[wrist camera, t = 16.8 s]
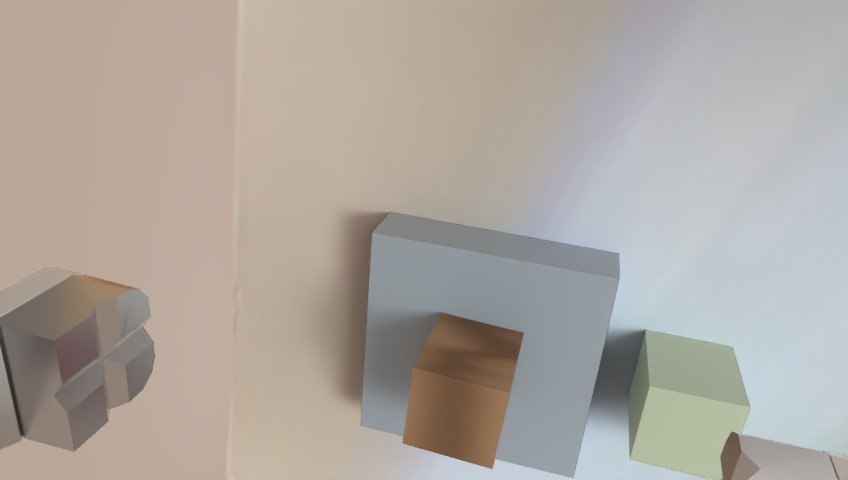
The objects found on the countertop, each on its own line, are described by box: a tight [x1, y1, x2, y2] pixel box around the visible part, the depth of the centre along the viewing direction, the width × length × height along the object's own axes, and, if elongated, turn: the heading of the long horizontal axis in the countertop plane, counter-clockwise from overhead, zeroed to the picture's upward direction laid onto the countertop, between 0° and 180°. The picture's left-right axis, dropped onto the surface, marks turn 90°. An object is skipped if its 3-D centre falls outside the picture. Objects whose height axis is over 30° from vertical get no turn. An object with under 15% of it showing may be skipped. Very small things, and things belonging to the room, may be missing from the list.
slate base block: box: [360, 212, 620, 478], centre depth 43 cm, size 14×14×4 cm
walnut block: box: [403, 312, 524, 469], centre depth 38 cm, size 5×5×6 cm
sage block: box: [628, 330, 750, 480], centre depth 39 cm, size 5×5×6 cm
